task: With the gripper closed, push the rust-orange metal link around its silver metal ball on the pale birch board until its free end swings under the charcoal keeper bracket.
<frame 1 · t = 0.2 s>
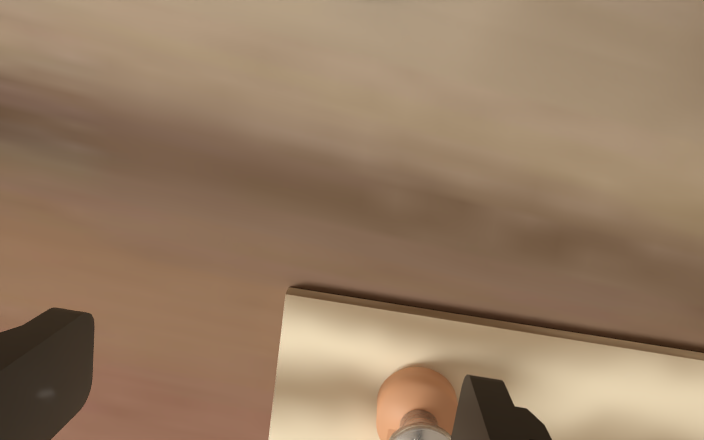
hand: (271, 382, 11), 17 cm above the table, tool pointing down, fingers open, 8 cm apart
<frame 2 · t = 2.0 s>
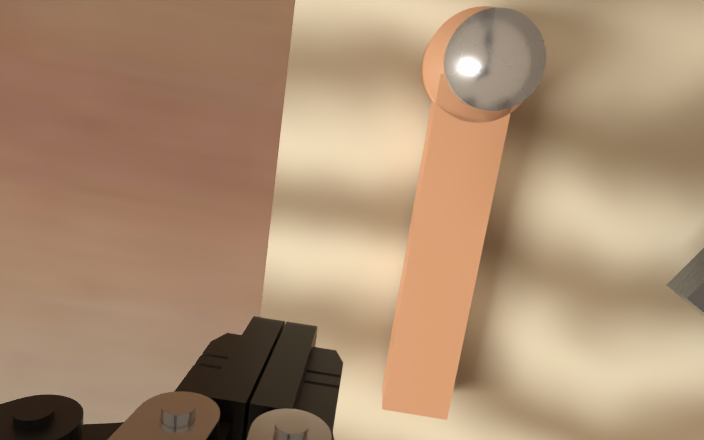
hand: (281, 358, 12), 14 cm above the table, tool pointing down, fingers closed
link: (447, 223, 23), point 2 cm above the table, hinge at 0.0°
board: (558, 258, 25), on the table
silver metal ball: (488, 63, 19), point 5 cm above the table
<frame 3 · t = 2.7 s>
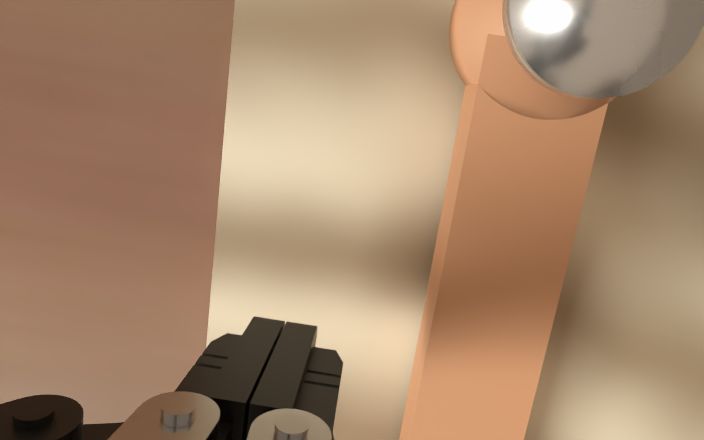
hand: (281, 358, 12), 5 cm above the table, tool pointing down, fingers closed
link: (490, 283, 14), point 2 cm above the table, hinge at 0.0°
board: (654, 325, 17), on the table
silver metal ball: (582, 9, 10), point 5 cm above the table
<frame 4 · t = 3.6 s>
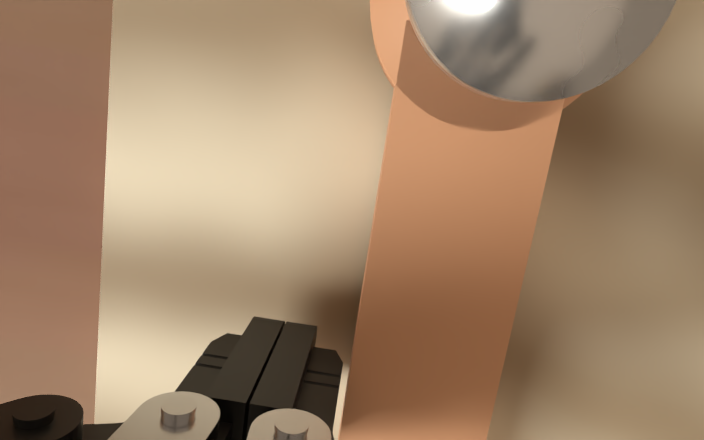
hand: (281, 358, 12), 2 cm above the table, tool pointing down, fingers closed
link: (425, 332, 11), point 2 cm above the table, hinge at 0.0°, touching gripper
board: (632, 376, 14), on the table
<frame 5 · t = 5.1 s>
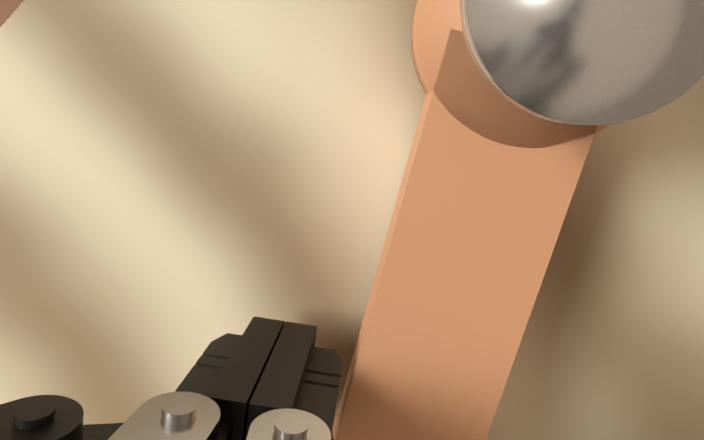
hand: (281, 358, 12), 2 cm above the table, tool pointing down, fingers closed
link: (431, 338, 12), point 2 cm above the table, hinge at 34.2°, touching gripper
board: (407, 413, 15), on the table
silver metal ball: (569, 5, 8), point 4 cm above the table
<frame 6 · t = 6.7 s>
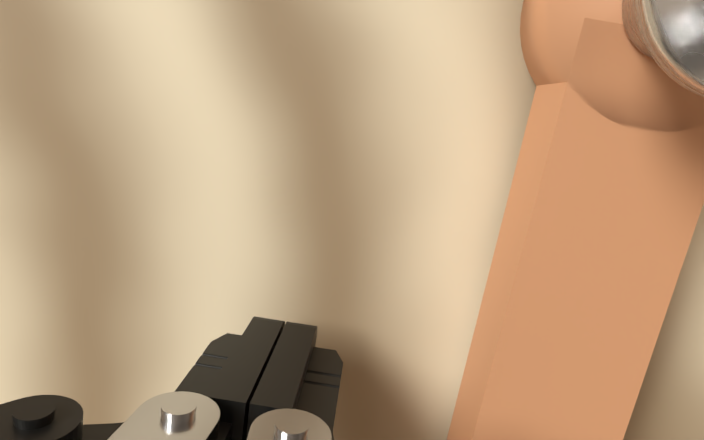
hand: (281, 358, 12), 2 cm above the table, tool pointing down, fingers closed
link: (557, 330, 11), point 2 cm above the table, hinge at 58.8°
board: (370, 354, 14), on the table
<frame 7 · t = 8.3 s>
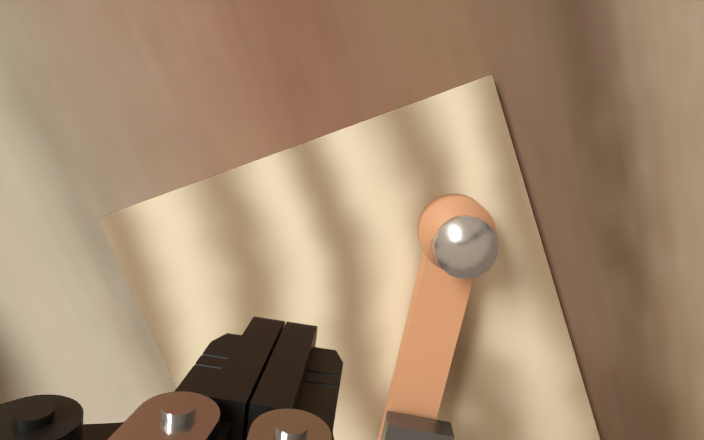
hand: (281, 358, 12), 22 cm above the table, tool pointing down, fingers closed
link: (430, 333, 33), point 2 cm above the table, hinge at 58.8°
board: (363, 342, 36), on the table
silver metal ball: (462, 242, 29), point 5 cm above the table
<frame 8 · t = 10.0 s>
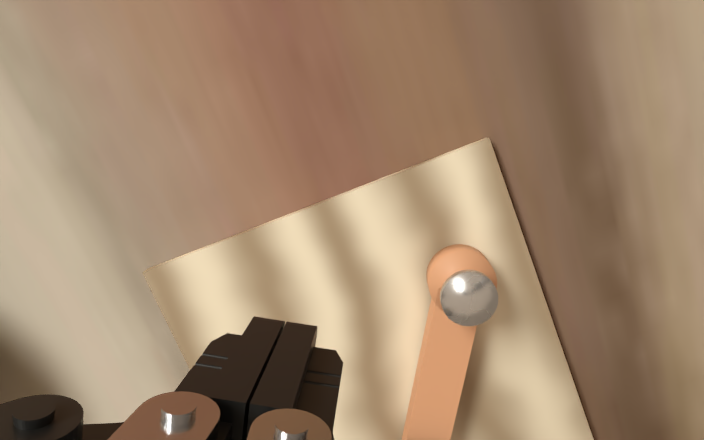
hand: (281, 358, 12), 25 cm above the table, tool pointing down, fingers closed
link: (440, 369, 36), point 2 cm above the table, hinge at 58.8°
board: (381, 376, 39), on the table
silver metal ball: (466, 292, 33), point 5 cm above the table
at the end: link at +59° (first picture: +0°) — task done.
